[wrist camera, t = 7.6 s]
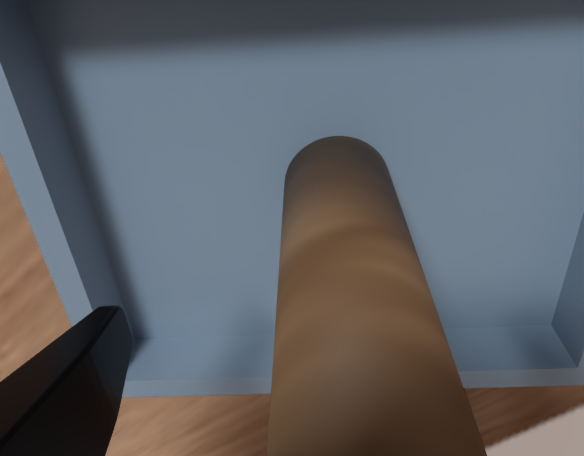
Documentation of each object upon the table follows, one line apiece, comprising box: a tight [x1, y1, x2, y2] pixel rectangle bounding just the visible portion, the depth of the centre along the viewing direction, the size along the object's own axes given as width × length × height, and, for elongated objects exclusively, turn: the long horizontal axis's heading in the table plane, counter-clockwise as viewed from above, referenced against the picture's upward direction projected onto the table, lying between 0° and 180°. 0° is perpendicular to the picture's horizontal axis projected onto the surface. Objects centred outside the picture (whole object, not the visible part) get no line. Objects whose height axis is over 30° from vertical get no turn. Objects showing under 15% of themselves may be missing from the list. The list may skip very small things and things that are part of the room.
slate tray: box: [0, 0, 584, 398], centre depth 13 cm, size 16×13×2 cm
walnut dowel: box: [267, 136, 487, 456], centre depth 10 cm, size 3×3×9 cm
